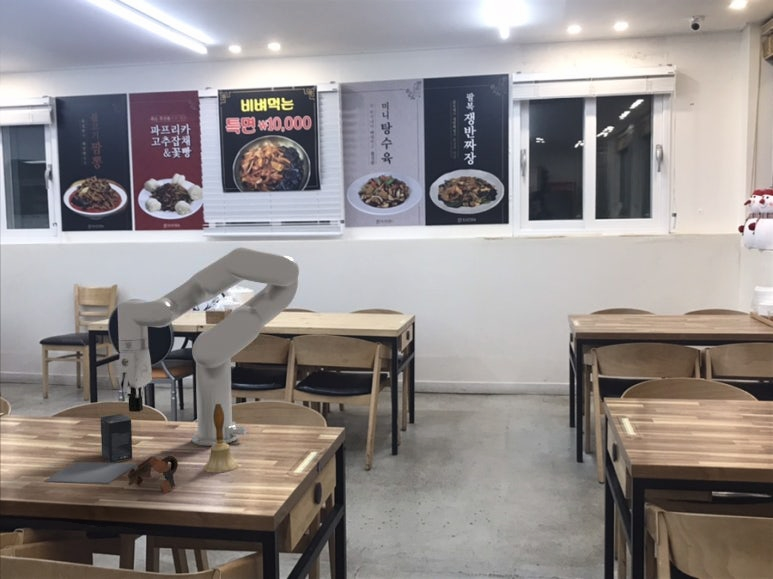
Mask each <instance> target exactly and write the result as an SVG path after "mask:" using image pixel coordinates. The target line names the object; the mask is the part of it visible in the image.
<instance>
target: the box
mask: <svg viewBox="0 0 773 579" xmlns="http://www.w3.org/2000/svg"><path fill="white" fill-rule="evenodd" d="M132 428H133V427H132V419H131V418H129V417H128V416H126V415H125V414H122V413H119V414H112V415H107V416H101V417H100V435H101V436H100V437H101V438H100V439H101V457H102V458H104V459H105V460H106V461H108V463H118V462H119V463H120V462H124V461H128V460H132V459H133V440H132V439H133V436H132V435H133V434H132V433H133V432H132Z"/></svg>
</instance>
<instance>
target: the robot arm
mask: <svg viewBox="0 0 773 579" xmlns="http://www.w3.org/2000/svg"><path fill="white" fill-rule="evenodd" d="M299 274H300V267H299V264H298V263H297V261H296V260H295V259H294V258H292V257H291V256H287V255H282V254H277V253H271V252H265V251H260V250H255V249H250V248H247V247H236V248H234V249H233V250H230V252H227V254H225V255H223V256H221V258H219V259H217V260H215V261H214V262H212V263H211V264H209V265H207V266H205V267H204V268H202V269H201V270H198V272H196V273H194V274H193V275H192V276H191V277H190V278H189V279H188V280H186V281H185V282H184V283H182V284H181V285H179V286H178V287H175V288H174V289H173V290H171V291H169V292H168V293H167V294H165V295H163V296H161V297H160V298H158V299H155V300H150V301H144V300H140V299H138V300H137V299H135V300H133V299H132V300H129V299H128V300H122V301H120V302H118V304H117V322H118V323H117V327H118V328H117V329H118V330H117V331H118V351H119V359H118V360H119V361H118V381H119V382H118V384H119V387H120V388H122V393H123V394H124V395H125V394H126V395H127V398H128V411H129V412H132V413H133V412H136V413H140V412H141V411H143V409H144V406H143V404H144V402H143V395H144V388H145V387H146V386H147V385H148V384H150V383H151V382H152V380H153V373H152V363H151V362H152V361H151V355H150V348H149V330H148V329H149V328H148V327H150V328H151V327H152V328H164V327H165V328H166V327H167V326H169V325H170V324H172V322H174V321H175V320H177V319H179V318H180V317H181V316H183V315H184V314H187V313H188V312H190V311H191V310H193V309H194V308H196V307H199V306H200V305H201V304H203V303H205V302H206V303H207V302H209V301H211V300H213V299H215V298H217V297H218V296H220V295H221V294H223V293H225V292H226V291H228V290H229V289H231V288H233V287H234V286H236V285H237V284H239V283H241V282H242V281H249V282H254V283H259V284H265V286H264V288H262V289H261V290H260V291H258V292H257V293H256V294H255V295H254V296H252V297H251V298H249V299H248V300H246V302H244V303H243V304H241V305H240V306H238V307H236V308H234V309H232V311H230V313H229V314H228V315H227V316H226V317H225V318H223V319H222V320H220V321H219V322H218V323H216V325H214V326H212V327H211V328H209V329H205V330H203V331H202V332H201V333H200V334H199V335H198V336H197V337H196V339H195V341H194V343H193V345H192V349H191V350H192V351H191V352H192V354H191V355H192V358H193V360H194V362H195V381H196V382H195V384H196V386H195V387H196V389H195V390H196V414H197V416H196V417H197V418H196V420H197V421H196V422H197V423H196V424H197V426H196V427H197V432H196V433H195V434H193V436H192V437H191V442H192V443H193V444H195V445H199V446H206V447H207V446H209V447H210V446H211V447H212V446H213V445H215V444H216V443H217V440H216V438H217V437H216V427H215V424H214V419H213V414H214V410H215V405H216V404H221V407H222V409H223V412H224V424H223V440H224V443H226V444H230V443H233V442H235V441H237V440H238V438H239V436H245V435H246V434H247V428H246V427H245V426H238V425H236V421H233V416H232V415H233V412H232V408H233V407H232V366H231V365H232V364H231V363H232V361H231V359H232V358H233V357H234V356H235V355H237V354H239V352H241V351H242V350H243V349H245V348H246V347H247V346H248V345H250V344H251V343H252V342H254V340H256V338H258V336H259V335H260V333H261V330H262V328H264V327H265V326H266V325H267V324H268V323H271V322H272V321H273V320H274V319H275V318H277V316H279V315H280V314H281V313H282V312H284V310H286V309H287V308H288V307H289V305H290V304H291V303H292V301H293V300H294V298H295V296H296V293H297V290H298V285H299ZM232 441H233V442H232Z"/></svg>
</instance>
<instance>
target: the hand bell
mask: <svg viewBox="0 0 773 579" xmlns="http://www.w3.org/2000/svg"><path fill="white" fill-rule="evenodd" d="M213 419H214V424H215V427H216V437H217V438H216V440H217V443H216V444H215V445H213V446H211V447H210V454H209V459H208V460H207V462H206V463H205V465H203V466H204V467H203V470H204V471H205V472H206V473H210V474H222V473H223V474H224V473H228V472H231V471H234V470H236V469H237V468H238V466H239V464H238V462H237V461H236V460H235V459H234V458H233V456H232V453H231V448H230V445H229V443H227V444H226V443H224V440H223V424H224V412H223V409H222V407H221V404H216V405H215V410H214V414H213Z"/></svg>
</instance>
